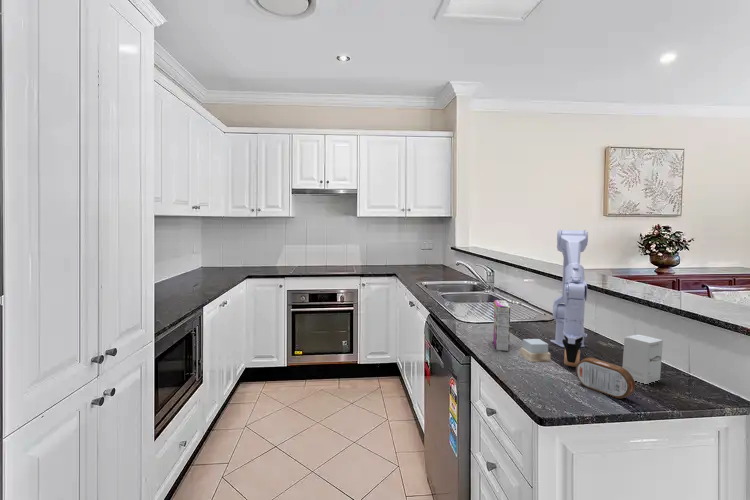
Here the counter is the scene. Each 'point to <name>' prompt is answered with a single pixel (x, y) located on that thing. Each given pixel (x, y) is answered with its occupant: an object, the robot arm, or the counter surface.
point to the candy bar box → (501, 325)
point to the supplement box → (643, 358)
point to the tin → (605, 377)
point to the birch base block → (535, 356)
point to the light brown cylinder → (571, 362)
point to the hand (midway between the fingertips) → (571, 359)
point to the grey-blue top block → (535, 346)
